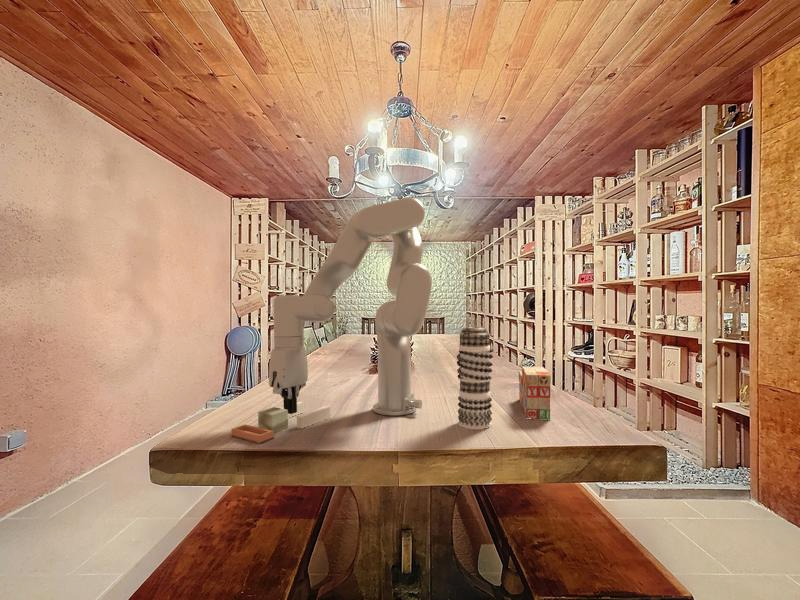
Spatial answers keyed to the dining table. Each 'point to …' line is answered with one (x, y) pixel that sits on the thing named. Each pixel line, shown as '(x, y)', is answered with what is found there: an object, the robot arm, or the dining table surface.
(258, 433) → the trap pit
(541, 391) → the stack of blocks
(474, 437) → the dining table surface
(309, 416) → the walled channel
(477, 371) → the decorative candle
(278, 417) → the sage block
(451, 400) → the dining table surface
